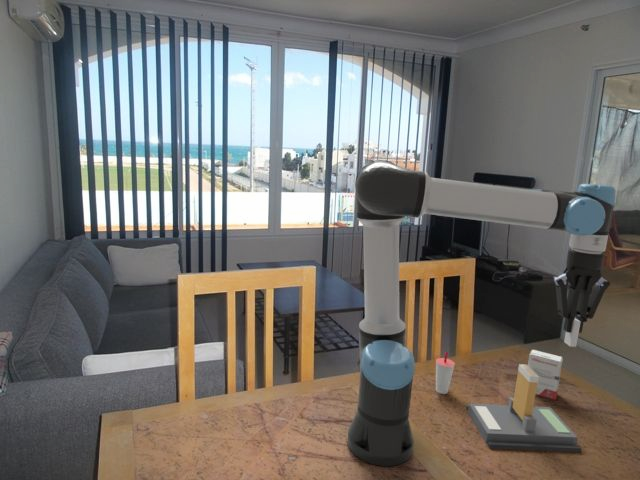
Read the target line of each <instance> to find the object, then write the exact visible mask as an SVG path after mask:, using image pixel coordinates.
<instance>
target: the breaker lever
mask: <svg viewBox="0 0 640 480" xmlns="http://www.w3.org/2000/svg"><path fill="white" fill-rule="evenodd" d="M538 379H539V376H538V375H537V374H536V373H535V372H534V371H533V370H532V369H531V368H530V367H529V366H528V364H522V363H521V364H518V368H517V376H516V382H515V388H514V389H515V390H514V396H513V397H514V400H513V406H512V408H513V409H514V410H515V411H516V413H517V414H518V415H519V417H520V418H521V419H522V420H523V418H524V416H532V412H533V406H534V404H535V400H536V395H537V394H536V388H537V383H538Z"/></svg>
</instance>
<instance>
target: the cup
mask: <svg viewBox="0 0 640 480" xmlns="http://www.w3.org/2000/svg"><path fill="white" fill-rule="evenodd" d="M455 365H456V363H455V361H453V360H452V359H448V352H446V351H445V353H444V357H438V358H436V359H435V391H436V393H438V394H442V395H447V394H448V392H449V388H450V385H451V381H452V377H453V372H454V368H455Z"/></svg>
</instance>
